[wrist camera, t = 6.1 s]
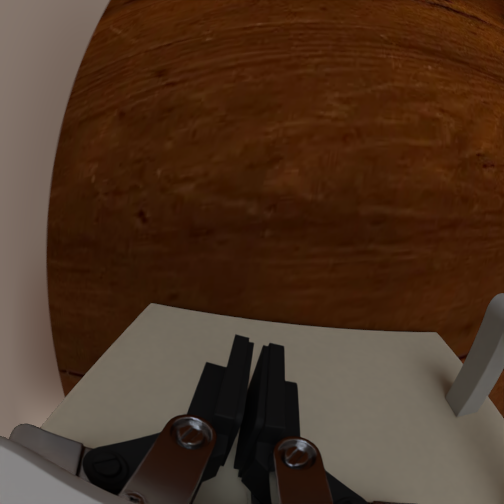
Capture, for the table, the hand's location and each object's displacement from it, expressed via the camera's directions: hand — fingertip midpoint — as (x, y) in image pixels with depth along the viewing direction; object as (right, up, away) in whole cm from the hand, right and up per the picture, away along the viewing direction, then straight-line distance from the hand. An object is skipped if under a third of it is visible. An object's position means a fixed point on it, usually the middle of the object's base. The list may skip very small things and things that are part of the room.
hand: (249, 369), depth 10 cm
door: (+4, +2, +7) cm, 8 cm away
